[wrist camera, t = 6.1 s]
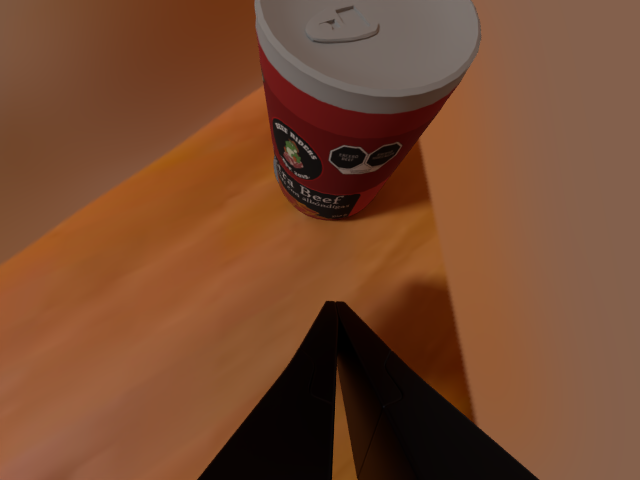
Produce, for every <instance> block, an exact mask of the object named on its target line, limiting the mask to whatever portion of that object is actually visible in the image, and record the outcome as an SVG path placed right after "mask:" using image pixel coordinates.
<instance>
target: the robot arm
mask: <svg viewBox="0 0 640 480" xmlns="http://www.w3.org/2000/svg"><path fill="white" fill-rule="evenodd" d="M337 366H338V372H339V378H340V383H341V389H342V395H343V401H344V406H345V412H346V418H347V423H348V429H349V435H350V440H351V446H352V452H353V458H354V463H355V469H356V475H357V479H358V480H539V479H538V478H537V477H536V476H534V475H533V474H532V473H531V472H530V471H529V470H527V469H526V468H525V467H524V466H523V465H522V464H520V463H519V462H518V461H517V460H516V459H514V458H513V457H512V456H511V455H510V454H509V453H508V452H506V451H505V450H504V449H503V448H502V447H501V446H499V445H498V444H497V443H496V442H495V441H494V440H492V439H491V438H490V437H489V436H488V435H487V434H485V433H484V432H483V431H482V430H481V429H480V428H479V427H477V426H476V425H475V424H474V423H473V422H472V421H470V420H469V419H468V418H467V417H466V416H465V415H463V414H462V413H461V412H460V411H459V410H458V409H456V408H455V407H454V406H453V405H452V404H451V403H449V402H448V401H447V400H446V399H445V398H444V397H442V396H441V395H440V394H439V393H438V392H437V391H435V390H434V389H433V388H432V387H431V386H430V385H429V384H427V383H426V382H425V381H424V380H423V379H422V378H420V377H419V376H418V375H417V374H416V373H415V372H414V371H413V370H412V369H410V368H409V367H408V366H407V365H406V364H405V363H404V362H403V361H402V360H401V359H400V358H399V357H398V356H397V355H396V354H395V353H394V352H393V351H392V350H391V349H390V348H389V347H388V346H387V345H386V344H385V343H384V342H383V341H382V340H381V339H380V338H379V337H378V336H377V335H376V334H375V333H374V332H373V331H372V330H371V329H370V328H369V327H368V326H367V325H366V323H365V322H364V321H363V320H362V319H361V318H360V317H359V316H358V315H357V314H356V313H355V312H354V311H353V310H352V309H351V308H350V307H349V306H348V305H347V304H346V303H345V302H341V301H336V302H334V301H326V302H325V304H324V305H323V307H322V309H321V311H320V312H319V314H318V316H317V318H316V319H315V321H314V323H313V324H312V326H311V328H310V330H309V331H308V333H307V335H306V337H305V338H304V340H303V342H302V343H301V345H300V347H299V348H298V350H297V352H296V353H295V355H294V357H293V358H292V360H291V361H290V363H289V364H288V366H287V367H286V368H285V370H284V371H283V372H282V374H281V375H280V376H279V378H278V379H277V380H276V381H275V383H274V384H273V385H272V386H271V388H270V389H269V390H268V391H267V393H266V394H265V395H264V396H263V398H262V399H261V400H260V401H259V403H258V404H257V405H256V407H255V408H254V409H253V410H252V412H251V413H250V414H249V415H248V417H247V418H246V419H245V420H244V422H243V423H242V424H241V425H240V427H239V428H238V429H237V430H236V432H235V433H234V434H233V435H232V437H231V438H230V439H229V440H228V442H227V443H226V444H225V445H224V447H223V448H222V449H221V450H220V452H219V453H218V454H217V455H216V457H215V458H214V459H213V460H212V462H211V463H210V464H209V465H208V467H207V468H206V469H205V471H204V472H203V473H202V474H201V476H200V477H199V478H198V479H197V480H332V464H333V441H334V418H335V394H336V371H337Z"/></svg>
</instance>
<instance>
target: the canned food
mask: <svg viewBox="0 0 640 480" xmlns="http://www.w3.org/2000/svg"><path fill="white" fill-rule="evenodd" d="M255 12H256V33H257V40H258V45H259V46H258V47H259V54H260V64H261V70H262V76H263V83H264V90H265V96H266V103H267V109H268V116H269V122H270V129H271V135H272V142H273V148H274V154H275V161H276V167H277V174H278V179H279V184H280V187H281V189H282V192H283V194H284V195H285V197H286V198H287V199H288V201H289V202H290V203H291V204H292V205H293V206H294V207H295V208H297V209H298V210H299V211H300V212H302V213H304V214H305V215H307V216H310V217H313V218H316V219H321V220H338V219H342V218H346V217H349V216H351V215H353V214H356V213H358V212H359V211H361V210H362V209H363V208H365V207H366V206H367V205H368V204H369V203H370V202H371V201H372V199H373V198H374V197H375V195H376V194H377V193H378V192H379V190H380V189H381V188H382V186H383V185H384V184H385V182H386V181H387V180H388V178H389V177H390V176H391V174H392V173H393V172H394V170H395V169H396V168H397V166H398V165H399V164H400V162H401V161H402V160H403V158H404V157H405V156H406V155H407V153H408V152H409V151H410V149H411V148H412V147H413V145H414V144H415V143H416V141H417V140H418V139H419V137H420V136H421V135H422V133H423V132H424V131H425V129H426V128H427V127H428V125H429V124H430V123H431V121H432V120H433V119H434V118H435V116H436V115H437V114H438V112H439V111H440V110H441V108H442V107H443V105H444V104H445V102H446V101H447V99H448V98H449V97H450V95H451V94H452V93H453V91H454V90H455V88H456V87H457V86H458V85H459V83H460V82H461V80H462V78H463V76H464V75H465V73H466V71H467V69H468V68H469V67H470V65H471V63H472V62H473V60H474V58H475V56H476V55H477V53H478V49H479V45H480V40H481V26H480V20H479V17H478V14H477V11H476V8H475V6H474V5H473V2H472V1H471V0H255Z"/></svg>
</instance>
